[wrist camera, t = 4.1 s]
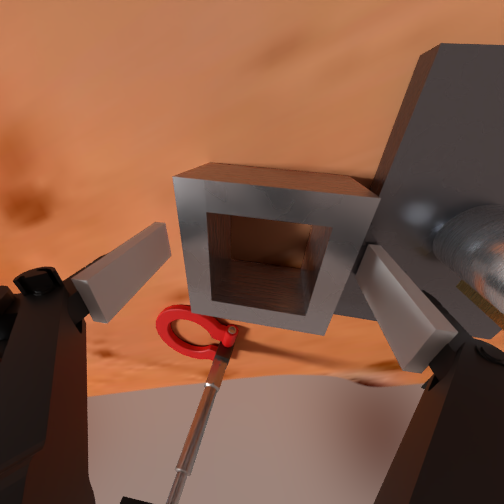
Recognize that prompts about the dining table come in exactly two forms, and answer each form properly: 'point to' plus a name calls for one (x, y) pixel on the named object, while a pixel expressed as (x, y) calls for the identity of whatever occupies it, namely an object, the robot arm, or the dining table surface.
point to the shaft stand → (445, 188)
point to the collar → (265, 275)
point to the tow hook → (212, 384)
